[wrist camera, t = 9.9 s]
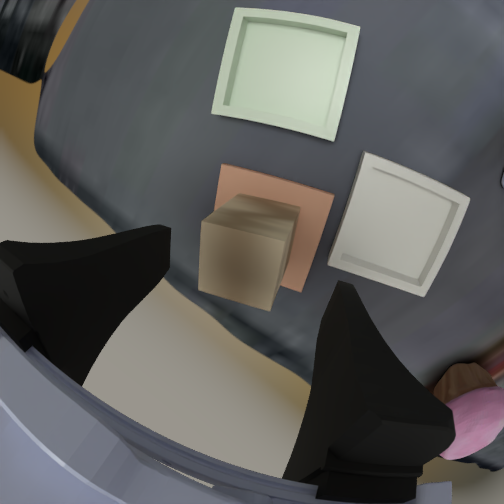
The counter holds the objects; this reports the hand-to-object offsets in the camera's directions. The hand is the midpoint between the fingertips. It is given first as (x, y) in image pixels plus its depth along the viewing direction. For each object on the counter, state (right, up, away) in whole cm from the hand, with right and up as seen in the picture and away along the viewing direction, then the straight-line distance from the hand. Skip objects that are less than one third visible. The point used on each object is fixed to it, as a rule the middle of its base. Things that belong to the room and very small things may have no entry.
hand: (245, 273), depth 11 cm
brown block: (+1, +3, +9) cm, 9 cm away
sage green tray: (+3, +13, +4) cm, 14 cm away
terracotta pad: (+1, +3, +9) cm, 10 cm away
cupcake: (+22, -12, +10) cm, 27 cm away
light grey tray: (+10, +3, +6) cm, 12 cm away
